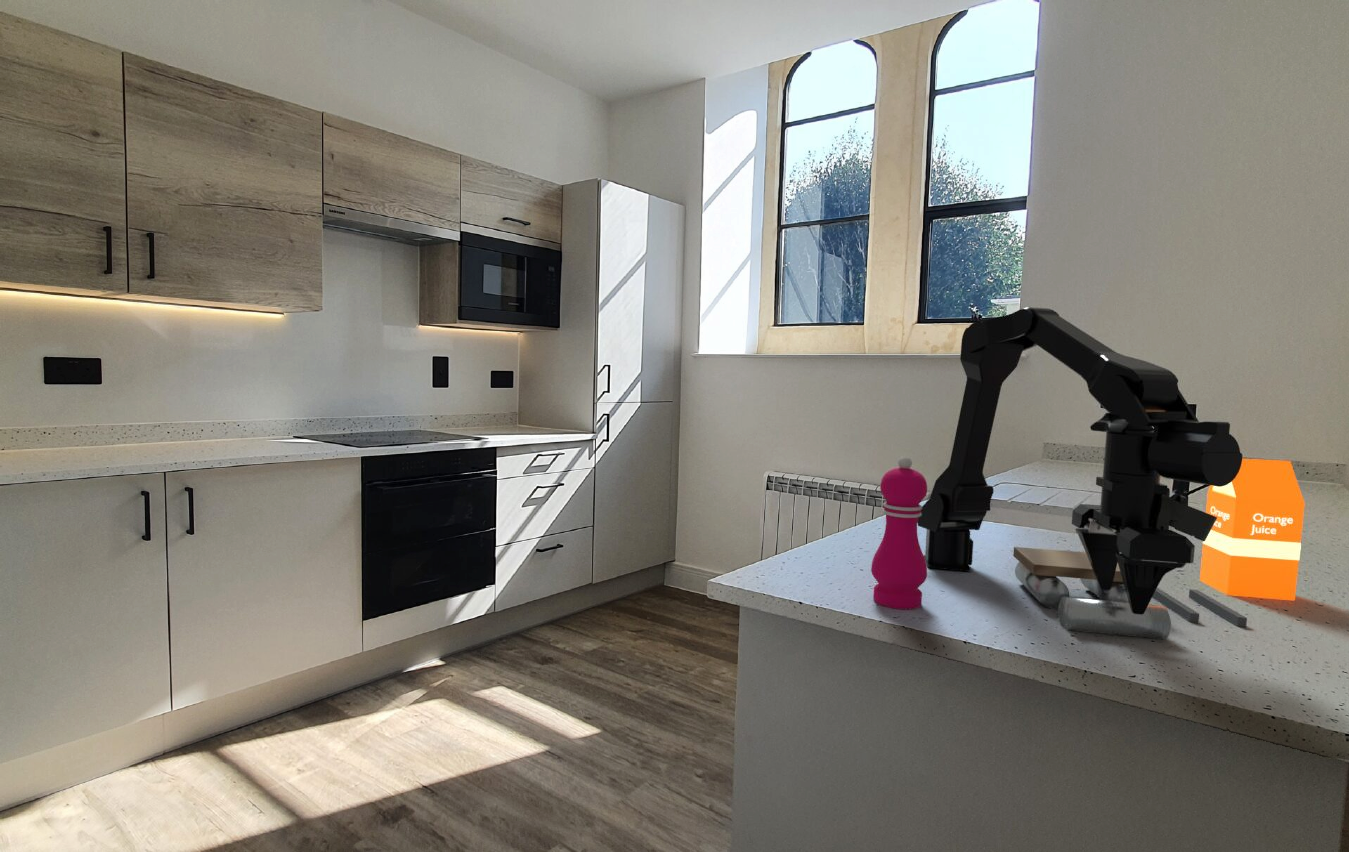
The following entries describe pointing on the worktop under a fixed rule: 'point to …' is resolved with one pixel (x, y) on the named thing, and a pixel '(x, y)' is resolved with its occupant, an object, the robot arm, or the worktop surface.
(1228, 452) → the robot arm
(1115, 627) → the loose roller
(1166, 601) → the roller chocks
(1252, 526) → the orange juice
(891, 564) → the pepper mill
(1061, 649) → the worktop surface
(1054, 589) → the track rollers
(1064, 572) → the walnut slab
